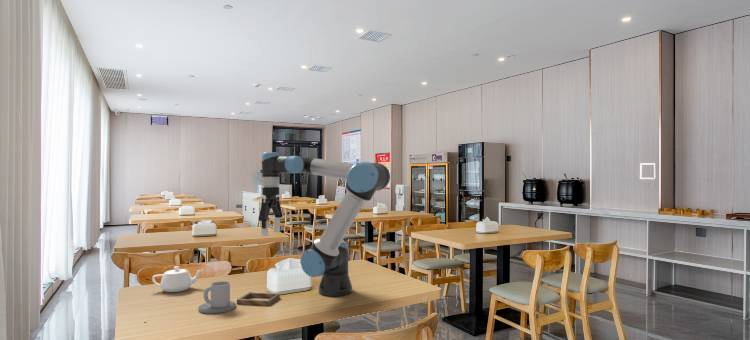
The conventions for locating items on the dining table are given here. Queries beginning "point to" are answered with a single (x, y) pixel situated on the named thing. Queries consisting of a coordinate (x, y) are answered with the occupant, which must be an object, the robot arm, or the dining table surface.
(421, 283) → the dining table surface
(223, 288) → the cup
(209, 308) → the coaster
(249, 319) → the dining table surface
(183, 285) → the teapot
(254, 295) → the brown wooden tray
